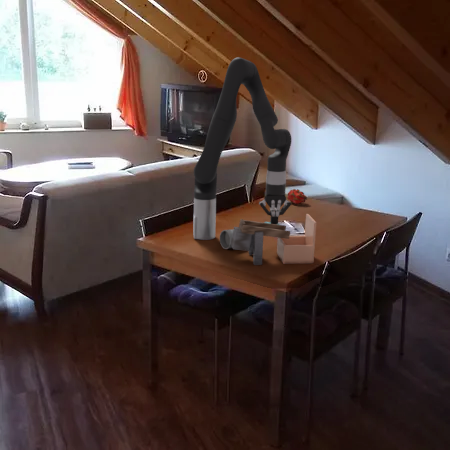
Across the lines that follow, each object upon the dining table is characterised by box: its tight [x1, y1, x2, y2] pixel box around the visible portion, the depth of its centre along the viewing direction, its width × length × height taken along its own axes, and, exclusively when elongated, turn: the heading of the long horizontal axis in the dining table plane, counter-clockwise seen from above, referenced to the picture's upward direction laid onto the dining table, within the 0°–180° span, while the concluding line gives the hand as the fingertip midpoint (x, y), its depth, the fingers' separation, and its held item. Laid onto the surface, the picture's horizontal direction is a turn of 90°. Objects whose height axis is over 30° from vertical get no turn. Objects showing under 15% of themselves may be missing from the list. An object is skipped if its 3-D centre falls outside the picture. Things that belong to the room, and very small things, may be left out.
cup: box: [276, 213, 317, 265], centre depth 211 cm, size 12×12×16 cm
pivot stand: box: [247, 231, 264, 266], centre depth 209 cm, size 3×13×12 cm, turn 7°
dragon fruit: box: [286, 188, 308, 206], centre depth 293 cm, size 8×8×12 cm
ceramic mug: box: [219, 228, 234, 250], centre depth 224 cm, size 11×8×8 cm
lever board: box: [231, 218, 291, 252], centre depth 212 cm, size 20×16×10 cm
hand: (274, 225), depth 217 cm, fingers closed
